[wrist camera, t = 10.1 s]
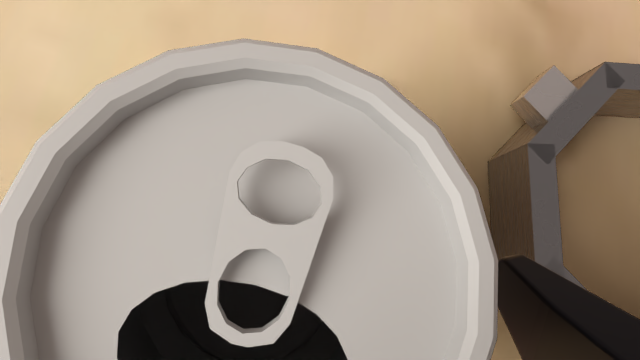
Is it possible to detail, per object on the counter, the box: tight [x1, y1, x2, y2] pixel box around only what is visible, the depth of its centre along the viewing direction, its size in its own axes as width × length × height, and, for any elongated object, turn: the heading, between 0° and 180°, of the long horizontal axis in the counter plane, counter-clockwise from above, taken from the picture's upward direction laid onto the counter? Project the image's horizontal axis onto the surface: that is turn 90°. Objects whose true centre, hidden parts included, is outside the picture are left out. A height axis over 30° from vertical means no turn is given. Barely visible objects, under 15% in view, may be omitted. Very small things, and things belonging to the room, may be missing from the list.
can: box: [0, 39, 498, 360], centre depth 12 cm, size 8×8×12 cm
